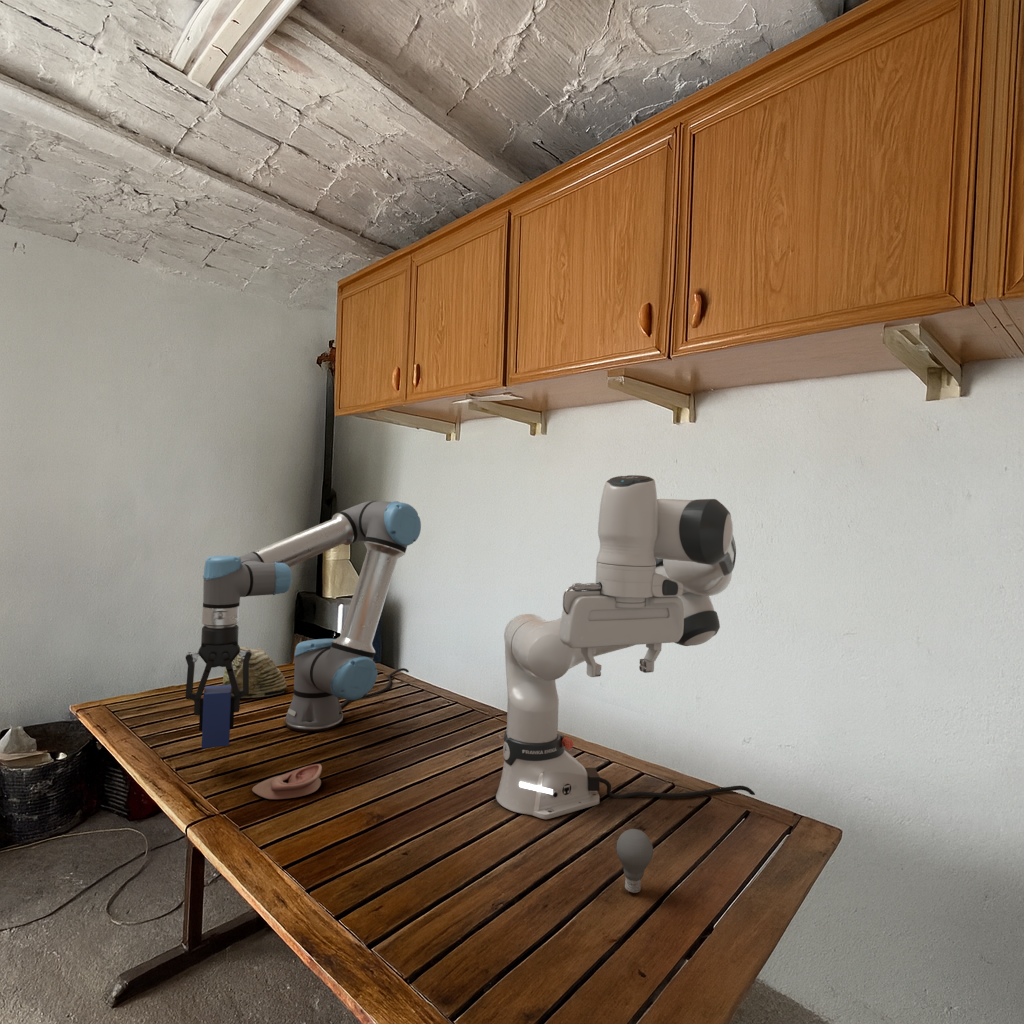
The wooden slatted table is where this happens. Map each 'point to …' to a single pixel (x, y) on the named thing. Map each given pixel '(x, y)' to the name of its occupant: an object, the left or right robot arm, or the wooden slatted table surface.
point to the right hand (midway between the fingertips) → (620, 673)
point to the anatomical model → (291, 783)
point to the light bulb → (634, 857)
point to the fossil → (258, 675)
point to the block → (216, 716)
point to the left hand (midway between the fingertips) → (216, 727)
